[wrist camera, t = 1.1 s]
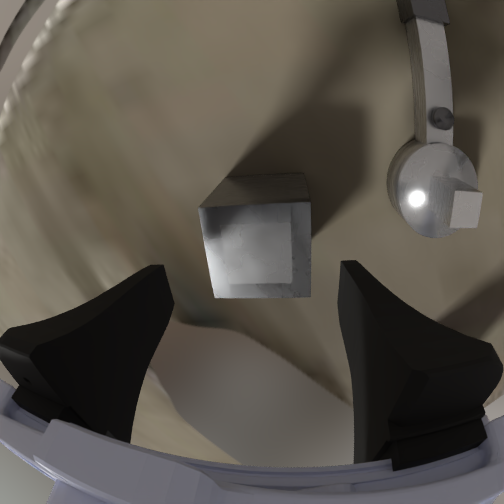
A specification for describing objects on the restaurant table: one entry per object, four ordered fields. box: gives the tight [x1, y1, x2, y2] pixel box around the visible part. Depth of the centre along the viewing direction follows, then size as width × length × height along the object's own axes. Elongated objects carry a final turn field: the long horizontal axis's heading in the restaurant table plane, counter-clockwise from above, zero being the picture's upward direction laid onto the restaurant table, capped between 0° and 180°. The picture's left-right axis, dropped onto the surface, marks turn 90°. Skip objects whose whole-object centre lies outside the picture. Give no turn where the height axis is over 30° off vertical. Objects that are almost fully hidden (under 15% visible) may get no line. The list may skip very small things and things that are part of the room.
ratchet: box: [387, 0, 483, 238], centre depth 10 cm, size 23×6×6 cm, turn 6°
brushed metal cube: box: [198, 173, 311, 298], centre depth 16 cm, size 5×5×6 cm
